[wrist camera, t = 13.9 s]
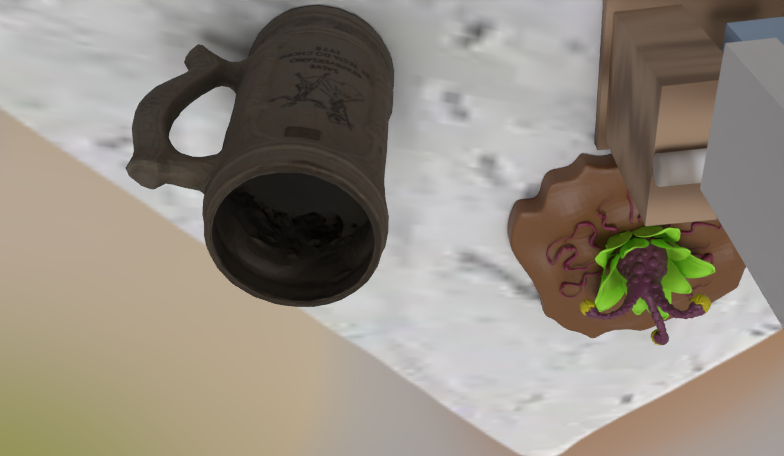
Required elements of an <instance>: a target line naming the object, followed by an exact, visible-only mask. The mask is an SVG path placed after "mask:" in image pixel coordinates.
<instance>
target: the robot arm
mask: <svg viewBox="0 0 784 456" xmlns="http://www.w3.org/2000/svg"><path fill="white" fill-rule="evenodd" d="M700 190H701V191H702V193H703V195H704V196H705V198H706V200H707V201H708V203H709V205H710V206H711V208H712V210H713V211H714V213H715V215H716V216H717V218H718V220H719V221H720V223H721V225H722V226H723V228H724V230H725V231H726V233H727V235H728V236H729V238H730V240H731V242H732V243H733V245H734V247H735V248H736V250H737V252H738V253H739V255H740V257H741V258H742V260H743V262H744V263H745V265H746V267H747V268H748V270H749V272H750V273H751V275H752V277H753V278H754V280H755V282H756V283H757V285H758V287H759V288H760V290H761V292H762V294H763V295H764V297H765V299H766V300H767V302H768V304H769V305H770V307H771V309H772V310H773V312H774V314H775V315H776V317H777V319H778V320H779V322H780V324H781V325H782V327H783V329H784V45H783V44H782V43H781V42H780V41H779V40H778V39H777V38H768V39H759V40H750V41H741V42H732V43H725V47H724V53H723V59H722V64H721V70H720V76H719V82H718V88H717V93H716V99H715V105H714V111H713V117H712V122H711V128H710V134H709V140H708V146H707V151H706V157H705V163H704V169H703V175H702V180H701V186H700Z"/></svg>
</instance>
